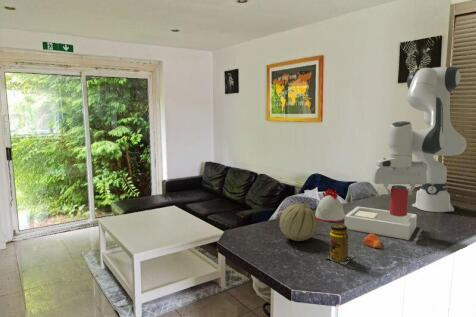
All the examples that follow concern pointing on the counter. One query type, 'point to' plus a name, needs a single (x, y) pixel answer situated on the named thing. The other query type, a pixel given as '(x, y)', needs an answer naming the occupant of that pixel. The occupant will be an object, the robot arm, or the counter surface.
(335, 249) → the condiment
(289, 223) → the cantaloupe
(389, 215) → the tray
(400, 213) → the beer can
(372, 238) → the rock
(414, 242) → the counter surface
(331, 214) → the kitchen timer
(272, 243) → the counter surface
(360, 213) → the cream rectangular box
